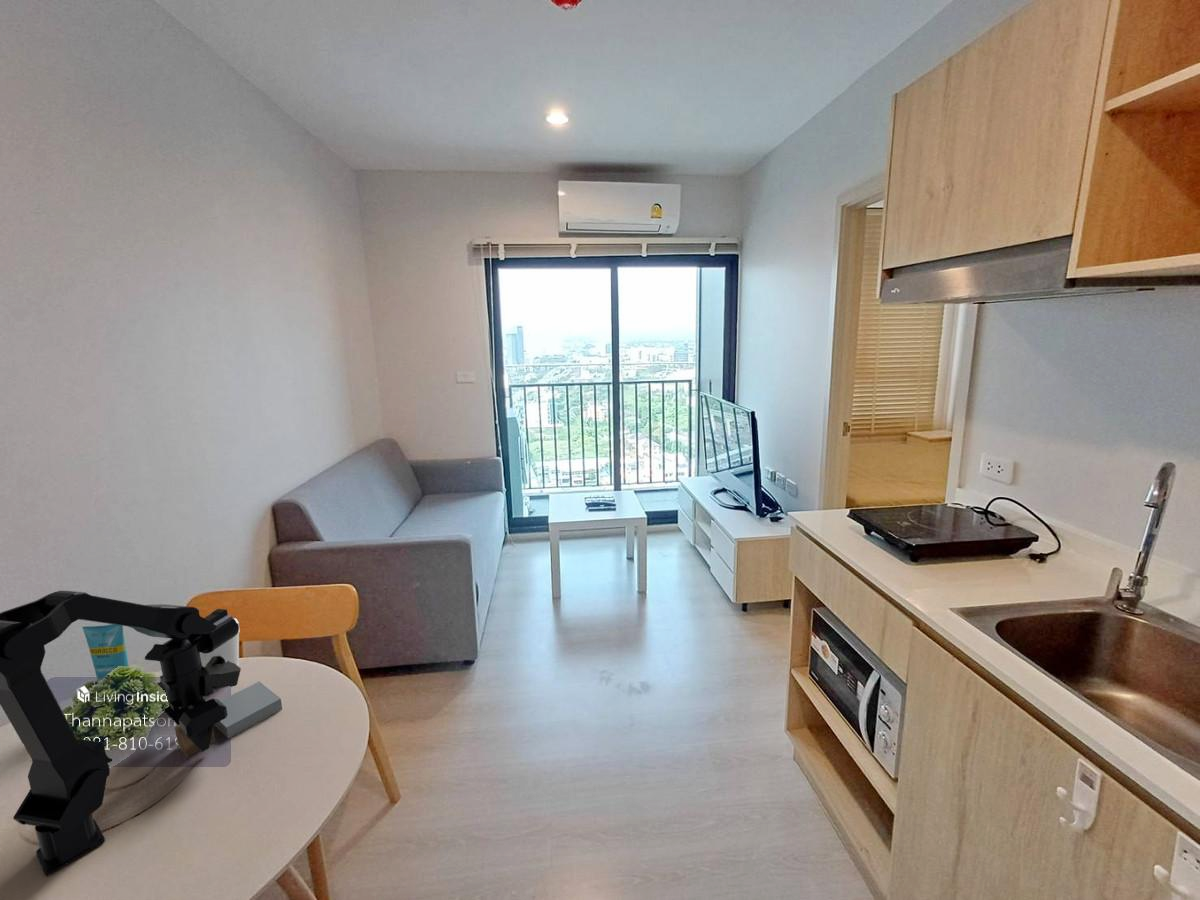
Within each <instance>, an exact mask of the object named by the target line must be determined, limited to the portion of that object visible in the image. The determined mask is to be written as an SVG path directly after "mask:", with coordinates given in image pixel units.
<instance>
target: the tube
mask: <svg viewBox="0 0 1200 900" xmlns="http://www.w3.org/2000/svg"><path fill="white" fill-rule="evenodd" d="M81 627H82V630H83V633H84V636H85V639H86V643H87V647H88V651H89V653H90V658H91V661H92V664H93V668H94V672H95V676H96V680H97V682H98V681H100V680H102V679H103V678H104V677H105V676H106V675H107V674H108V673H110V672H111V671H112V670H114V669H115V668H117V667H118V666H129V667H130V664H129V659H128V653H127V648H126V642H125V633H124V626H121V625H114V624H103V625H87V626H86V625H85V626H84V625H82V626H81Z"/></svg>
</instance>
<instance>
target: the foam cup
mask: <svg viewBox="0 0 1200 900" xmlns="http://www.w3.org/2000/svg"><path fill="white" fill-rule="evenodd" d="M233 618H234V617H233ZM234 620H235V621H236V623H238V625H239V626H240V622H239V621H238V619H237V618H234ZM240 632H241V629H240V627H239V631H238V634H237V635H236V636H235V637H233V638H232V639H230V640H229V641H227V642H226V643H224V644H223V645H221V646H220V647H218V648H217V649H215V650H214V651H212V652H210V653H201V652H200V658H201V663H202V666H203V667H206V664H207V663H208V662H209V661H210V660H211V658H212V657H213V656H222V657H223V658H224V660H225V662H227V661H229V662H232V663H235V664H236V665H237V666H238V667H240V665H239V662H240V660H239V659H240V654H239V653H240Z"/></svg>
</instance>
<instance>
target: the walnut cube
mask: <svg viewBox="0 0 1200 900" xmlns="http://www.w3.org/2000/svg"><path fill="white" fill-rule="evenodd" d="M174 731H175V736H176V741H177V746H178V748H179V749H180V751H182V753H183V754H184V755H185V756H186V757H189V756H191V755H194V754H195V753H197V752H199V751H201V750H200V749H199V748H198V747H197V746H196V745H195V744H194V743H193V742H192V741H191V740H190V739H189V738H188V737H187V736H186V735H185V734H184V733H183V732H182V731H181V726H180V724H179V725H177V724H176V726H174ZM215 742H216V738H215V733H214V731H213V732H212V737H211V741H210V745H212V744H214V743H215Z"/></svg>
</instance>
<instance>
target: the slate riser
mask: <svg viewBox="0 0 1200 900" xmlns="http://www.w3.org/2000/svg"><path fill="white" fill-rule="evenodd" d="M219 701H221V702H222V703H223V704H224V705H225V706H226V709H227V714H228V716H227V717H226V718H225V719H223V720H221V721H219V722H217V723H216V724H215V725H214V727H216V728H217V729H218V730H219V731H220V732H221V733H222V734H223V735H224V736H225V737H226V738H227V739H230V738H232V737H233V736H235V735H237V734H239V733H241V732H243V731H244V730H246V729H248V728H250V727H252V726H254V725H255V724H257V723H259V722H261V721H263V720H265V719H266V718H268V717H270V716H271V715H273V714H275V713H277V712H279V711H281V710H282V709H283V703H282V699H281V697H279V696H278V695H277V694H276V693H275V692H273V691H272V690H271V689H269V688H268V687H267V686H266V685H264V684H263V683H262V682H261V681H256V682H255V683H253V684H251V685H249V686H247V687H245V688H243V689H241V690H239V691H237V692H234V693H233V694H231V695H229V696H227V697H225V698H223V699H221V700H219Z"/></svg>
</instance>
